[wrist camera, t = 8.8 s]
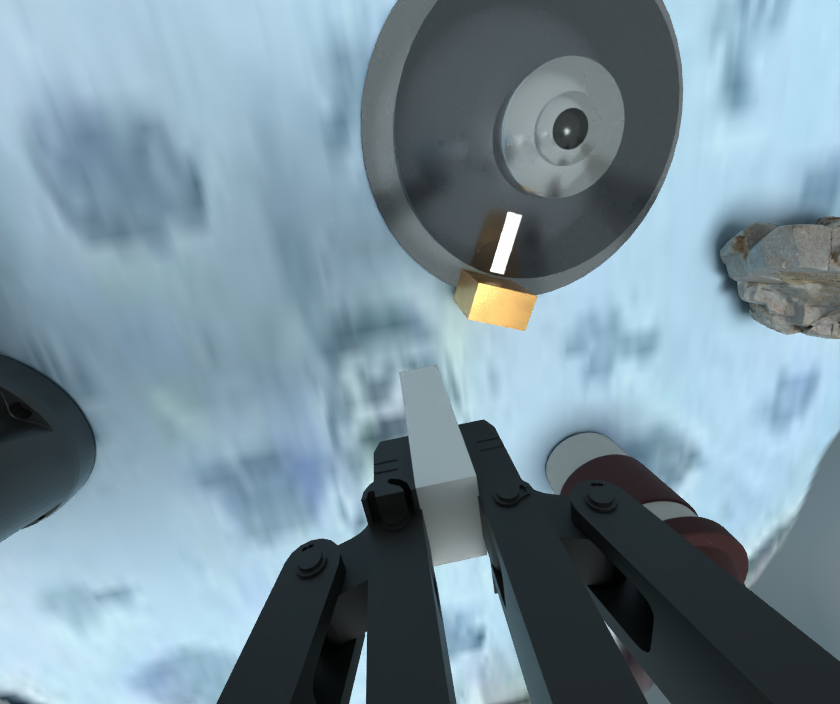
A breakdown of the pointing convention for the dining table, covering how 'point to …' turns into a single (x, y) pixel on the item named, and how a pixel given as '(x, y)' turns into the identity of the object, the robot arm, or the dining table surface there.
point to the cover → (559, 128)
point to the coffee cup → (642, 495)
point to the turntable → (473, 131)
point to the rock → (789, 275)
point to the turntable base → (383, 170)
